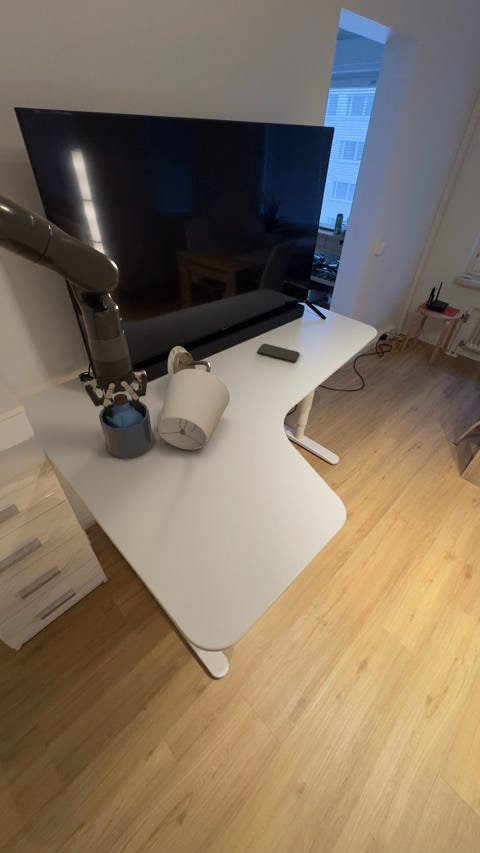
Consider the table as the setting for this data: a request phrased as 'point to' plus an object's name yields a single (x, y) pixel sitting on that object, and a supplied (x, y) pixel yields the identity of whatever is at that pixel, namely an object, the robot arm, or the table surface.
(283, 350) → the phone
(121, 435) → the holder
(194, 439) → the light fixture
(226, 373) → the table surface
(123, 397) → the perfume bottle
